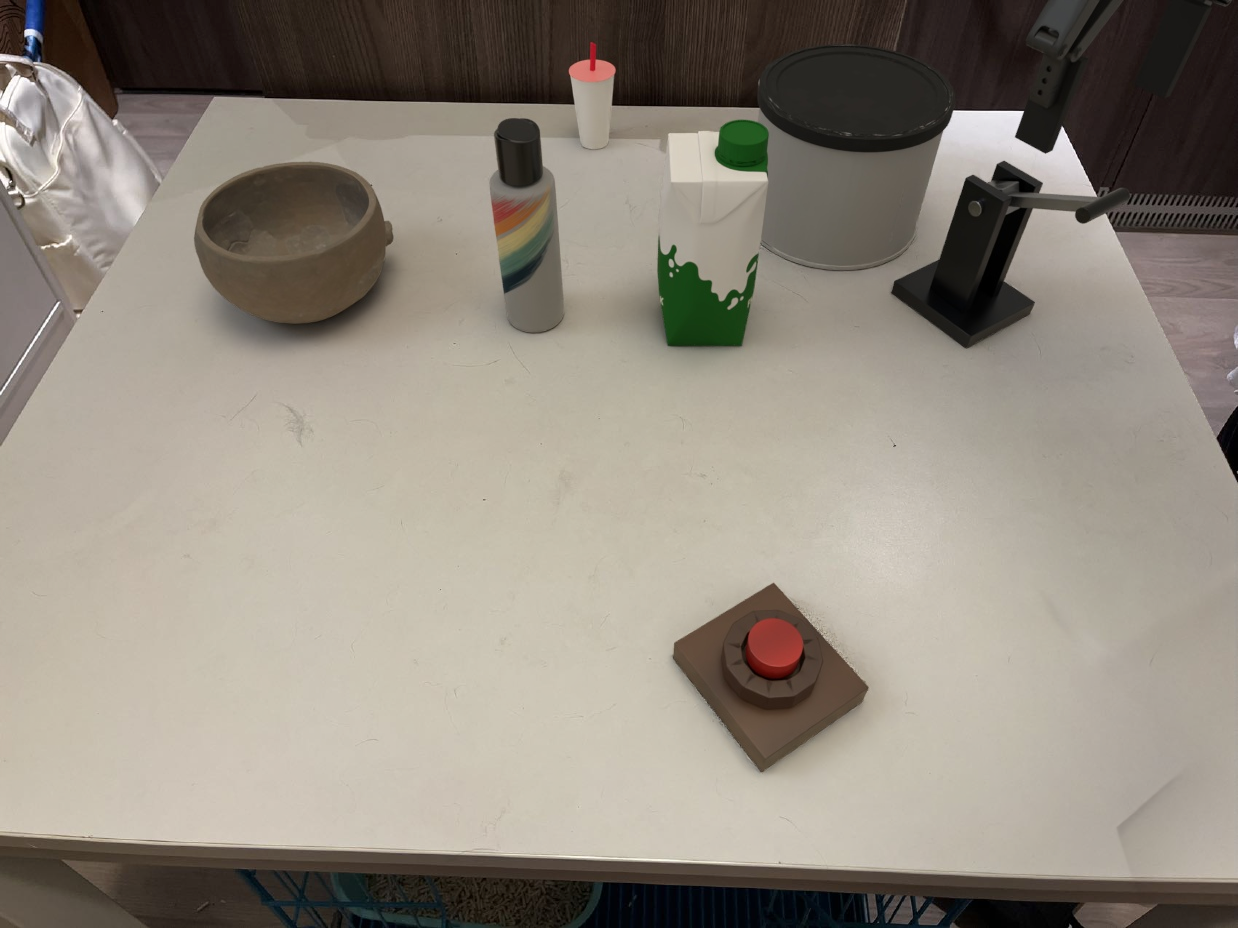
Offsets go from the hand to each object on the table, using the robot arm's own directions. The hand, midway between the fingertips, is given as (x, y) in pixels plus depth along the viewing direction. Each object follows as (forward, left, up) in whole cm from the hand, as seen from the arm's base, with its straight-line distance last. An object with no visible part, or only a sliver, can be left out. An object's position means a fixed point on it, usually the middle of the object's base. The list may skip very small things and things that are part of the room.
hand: (1094, 116), depth 66 cm
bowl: (+45, +50, -24) cm, 71 cm away
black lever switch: (+7, -3, -24) cm, 25 cm away
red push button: (-14, +39, -20) cm, 46 cm away
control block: (-14, +39, -24) cm, 48 cm away
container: (+25, -2, -24) cm, 35 cm away
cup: (+53, +11, -24) cm, 59 cm away
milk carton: (+19, +20, -24) cm, 36 cm away
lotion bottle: (+29, +33, -24) cm, 50 cm away
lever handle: (+2, -3, -11) cm, 11 cm away
